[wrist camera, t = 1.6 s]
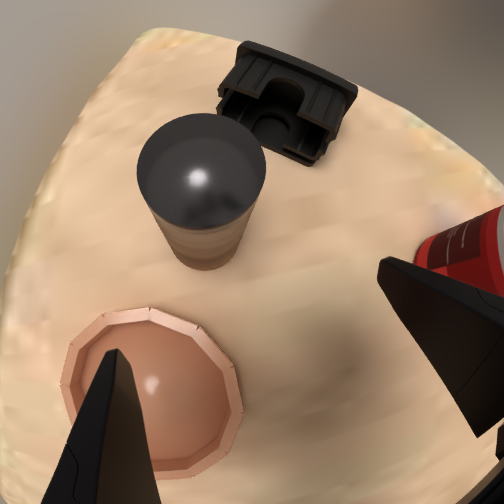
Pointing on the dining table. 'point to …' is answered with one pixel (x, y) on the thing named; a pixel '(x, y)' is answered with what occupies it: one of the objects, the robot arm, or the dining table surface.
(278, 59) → the end cap
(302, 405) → the dining table surface
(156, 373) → the terracotta dish
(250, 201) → the pepper mill
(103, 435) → the robot arm
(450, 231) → the canned food
